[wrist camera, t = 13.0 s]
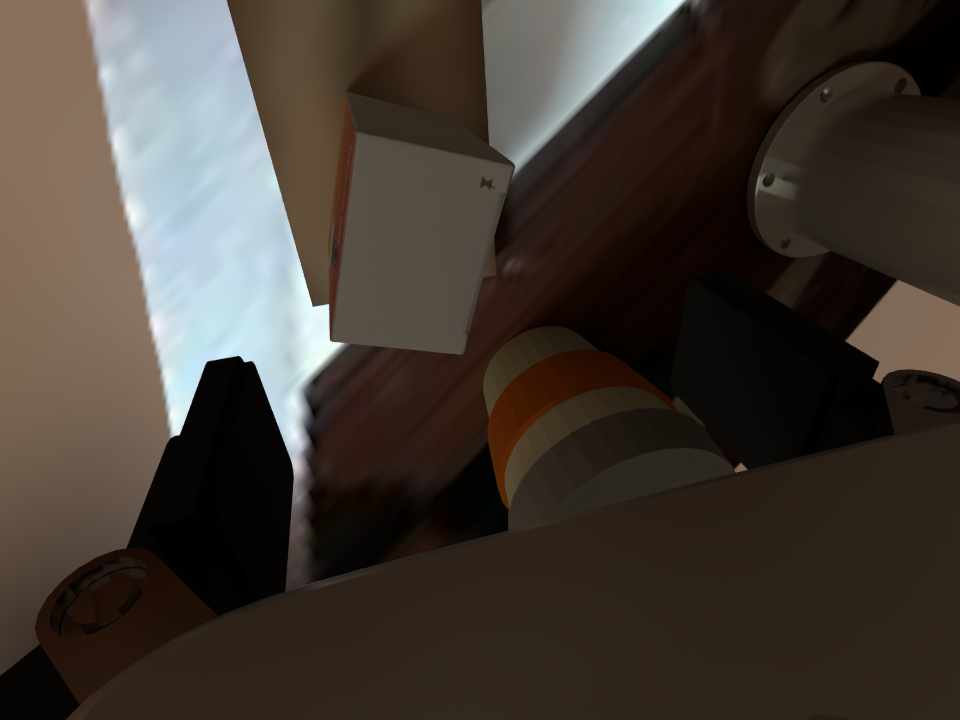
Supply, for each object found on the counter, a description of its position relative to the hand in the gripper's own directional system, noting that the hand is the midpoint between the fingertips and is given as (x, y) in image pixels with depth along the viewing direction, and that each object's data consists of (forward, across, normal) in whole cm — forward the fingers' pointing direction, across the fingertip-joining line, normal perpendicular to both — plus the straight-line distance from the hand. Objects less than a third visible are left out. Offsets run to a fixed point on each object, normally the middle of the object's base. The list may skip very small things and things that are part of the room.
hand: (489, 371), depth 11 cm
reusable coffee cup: (+22, -9, +17) cm, 29 cm away
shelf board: (+21, 0, -1) cm, 21 cm away
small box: (+20, 0, +1) cm, 20 cm away
